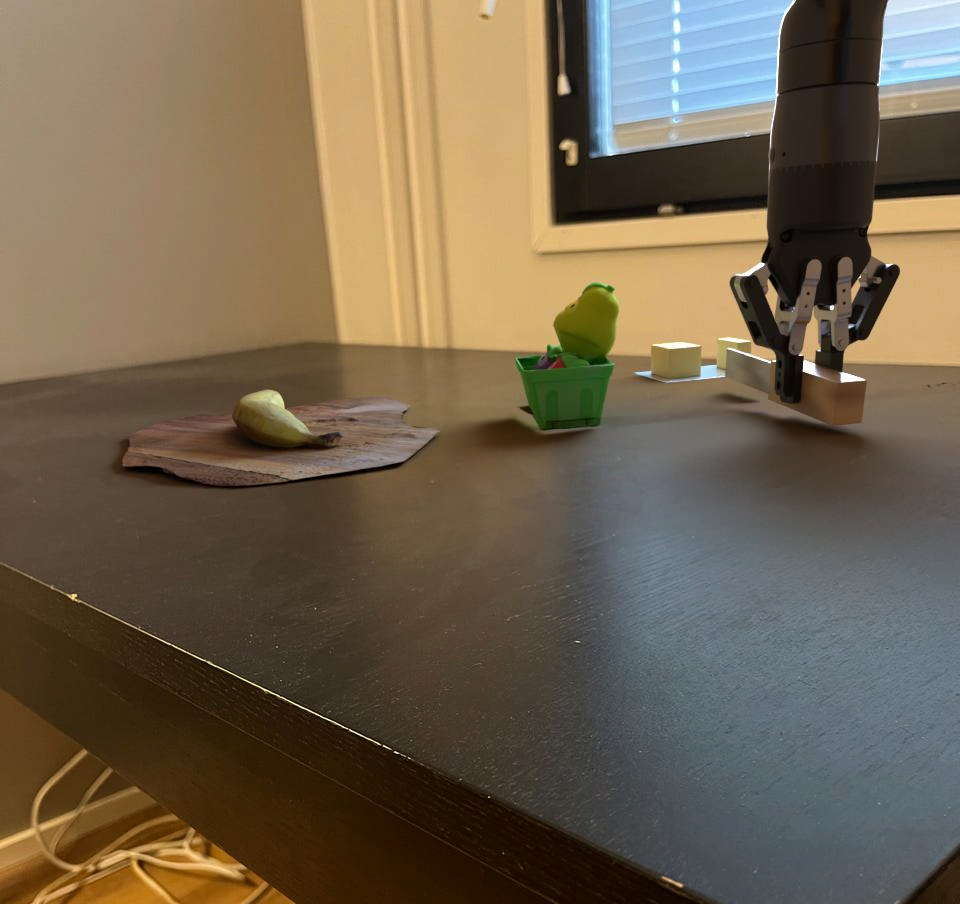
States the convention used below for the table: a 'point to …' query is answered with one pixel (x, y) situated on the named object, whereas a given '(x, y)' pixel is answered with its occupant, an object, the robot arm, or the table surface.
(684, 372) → the butter stick
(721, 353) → the butter pat
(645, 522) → the table surface
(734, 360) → the knife
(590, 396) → the fruit basket
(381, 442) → the cutting board
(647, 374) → the butter dish
